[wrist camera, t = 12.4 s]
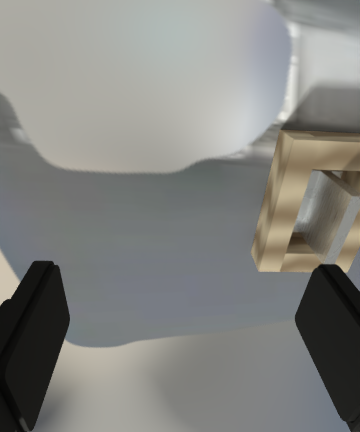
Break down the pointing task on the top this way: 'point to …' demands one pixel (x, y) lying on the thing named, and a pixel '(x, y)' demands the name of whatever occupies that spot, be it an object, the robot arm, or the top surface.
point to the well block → (293, 195)
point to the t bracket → (327, 213)
